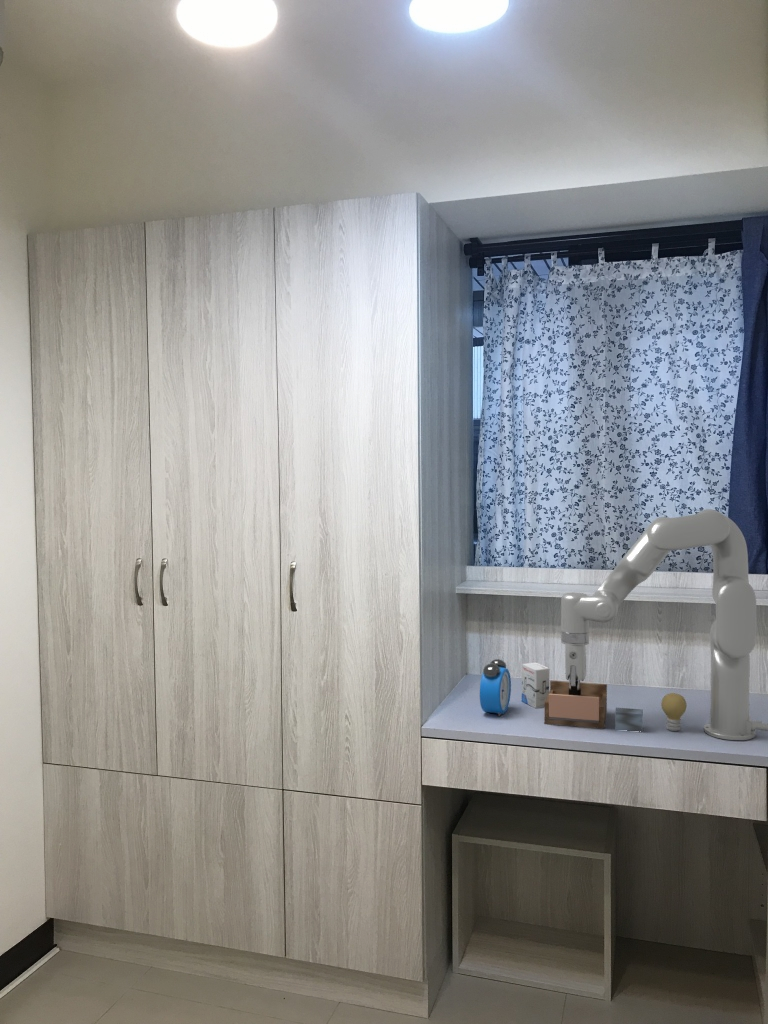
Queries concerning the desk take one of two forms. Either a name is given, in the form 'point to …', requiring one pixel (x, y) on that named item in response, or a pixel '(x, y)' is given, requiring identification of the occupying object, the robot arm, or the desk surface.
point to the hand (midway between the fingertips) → (574, 702)
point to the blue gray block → (629, 719)
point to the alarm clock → (495, 687)
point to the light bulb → (673, 710)
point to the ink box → (535, 684)
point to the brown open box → (586, 690)
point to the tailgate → (574, 708)
